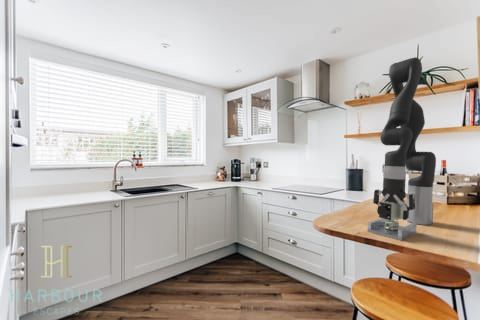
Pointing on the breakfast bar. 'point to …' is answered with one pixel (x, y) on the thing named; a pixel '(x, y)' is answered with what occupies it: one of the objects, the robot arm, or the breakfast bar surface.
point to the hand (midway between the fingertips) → (392, 217)
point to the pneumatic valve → (390, 214)
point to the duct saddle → (399, 234)
